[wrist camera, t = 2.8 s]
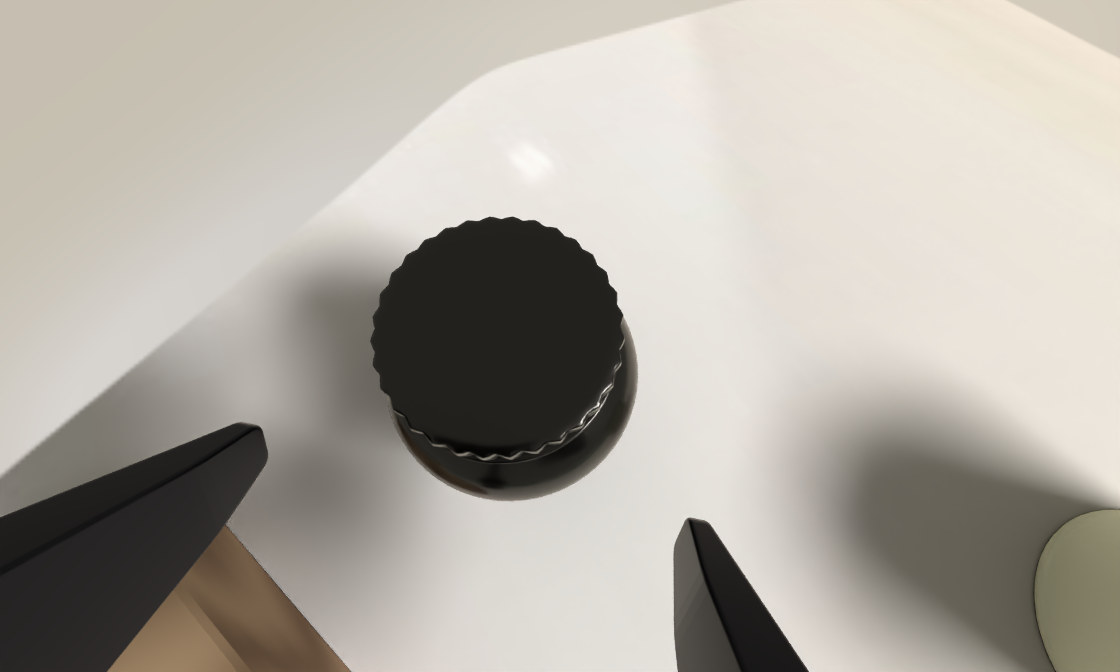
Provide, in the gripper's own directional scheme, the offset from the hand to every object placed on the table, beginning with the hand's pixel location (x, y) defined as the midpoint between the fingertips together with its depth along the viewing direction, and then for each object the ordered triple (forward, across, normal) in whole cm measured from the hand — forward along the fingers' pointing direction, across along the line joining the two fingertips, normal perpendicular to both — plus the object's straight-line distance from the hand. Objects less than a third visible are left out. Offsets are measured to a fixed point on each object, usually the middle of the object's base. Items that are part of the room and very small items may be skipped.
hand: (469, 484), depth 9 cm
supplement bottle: (+9, 0, +5) cm, 11 cm away
